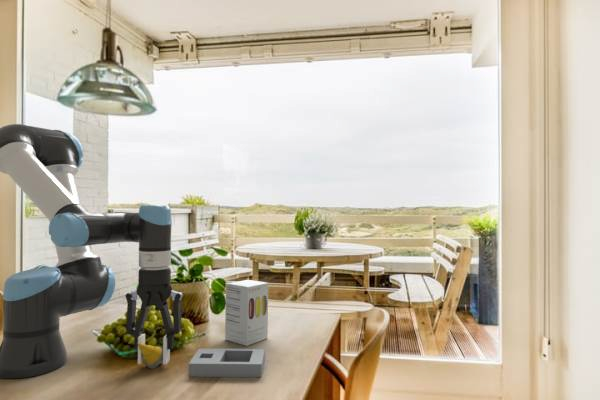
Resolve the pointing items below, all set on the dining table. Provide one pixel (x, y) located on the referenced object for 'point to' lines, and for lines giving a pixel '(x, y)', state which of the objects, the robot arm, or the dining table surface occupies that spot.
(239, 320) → the supplement box
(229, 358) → the bit holder block
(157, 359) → the yellow grooved cone
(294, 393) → the dining table surface
